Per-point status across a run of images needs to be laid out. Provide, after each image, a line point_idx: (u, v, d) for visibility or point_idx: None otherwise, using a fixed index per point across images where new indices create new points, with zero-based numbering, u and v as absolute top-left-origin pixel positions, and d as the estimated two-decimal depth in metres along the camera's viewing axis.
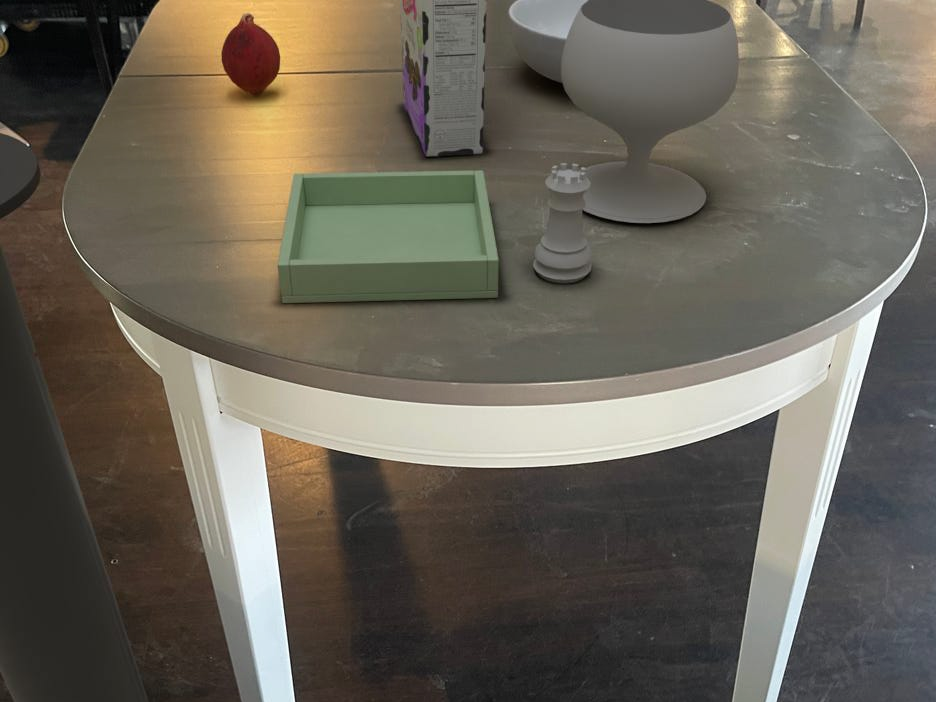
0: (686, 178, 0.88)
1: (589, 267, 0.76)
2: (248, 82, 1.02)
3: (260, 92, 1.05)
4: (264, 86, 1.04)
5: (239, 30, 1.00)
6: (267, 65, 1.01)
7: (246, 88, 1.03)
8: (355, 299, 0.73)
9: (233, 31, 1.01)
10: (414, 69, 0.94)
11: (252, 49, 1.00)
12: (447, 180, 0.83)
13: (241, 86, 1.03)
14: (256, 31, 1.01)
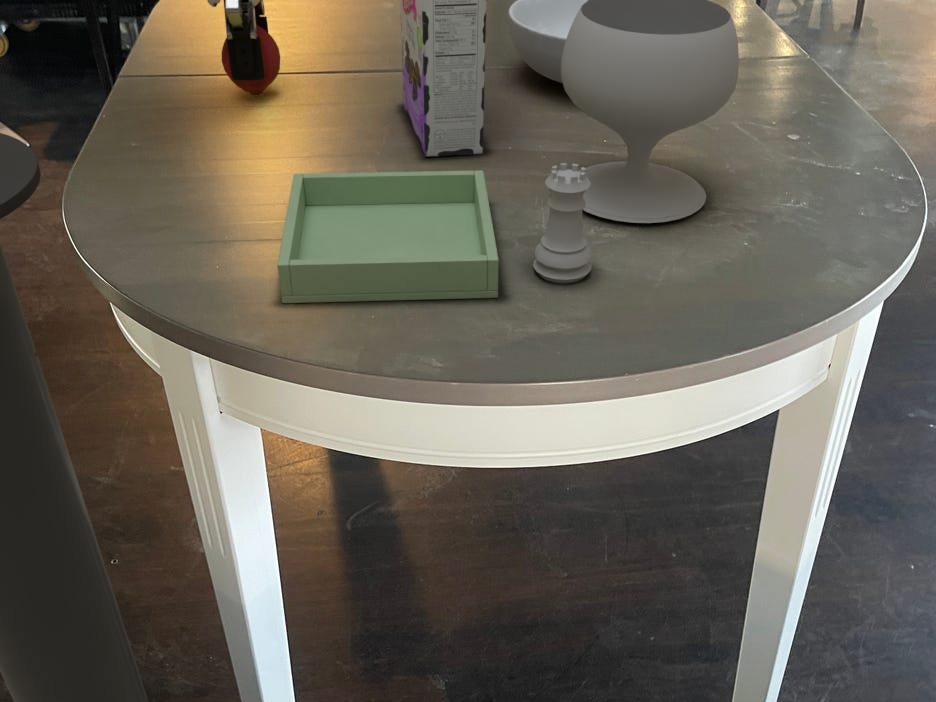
0: (686, 178, 0.88)
1: (589, 267, 0.76)
2: (248, 82, 1.02)
3: (260, 92, 1.05)
4: (264, 86, 1.04)
5: None
6: (267, 65, 1.01)
7: (246, 88, 1.03)
8: (355, 299, 0.73)
9: None
10: (414, 69, 0.94)
11: None
12: (447, 180, 0.83)
13: (241, 86, 1.03)
14: None
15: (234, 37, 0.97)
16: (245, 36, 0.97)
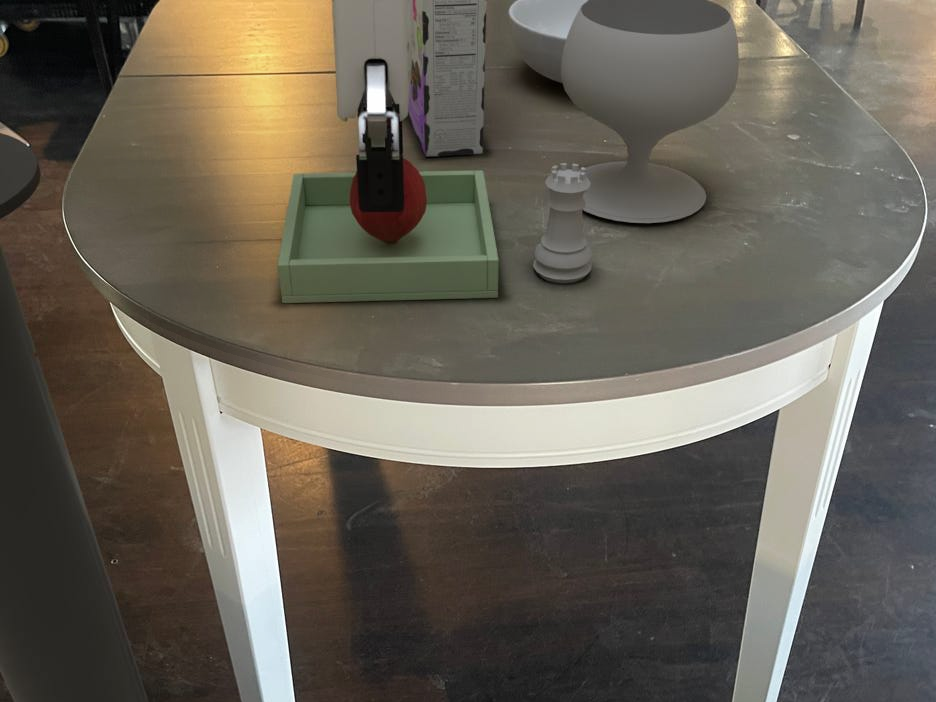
0: (686, 178, 0.88)
1: (589, 267, 0.76)
2: (387, 231, 0.76)
3: (397, 240, 0.78)
4: (405, 234, 0.77)
5: None
6: (413, 210, 0.75)
7: (381, 237, 0.77)
8: (355, 299, 0.73)
9: None
10: (414, 69, 0.94)
11: None
12: (447, 180, 0.83)
13: (375, 235, 0.77)
14: None
15: (369, 158, 0.68)
16: (385, 157, 0.68)
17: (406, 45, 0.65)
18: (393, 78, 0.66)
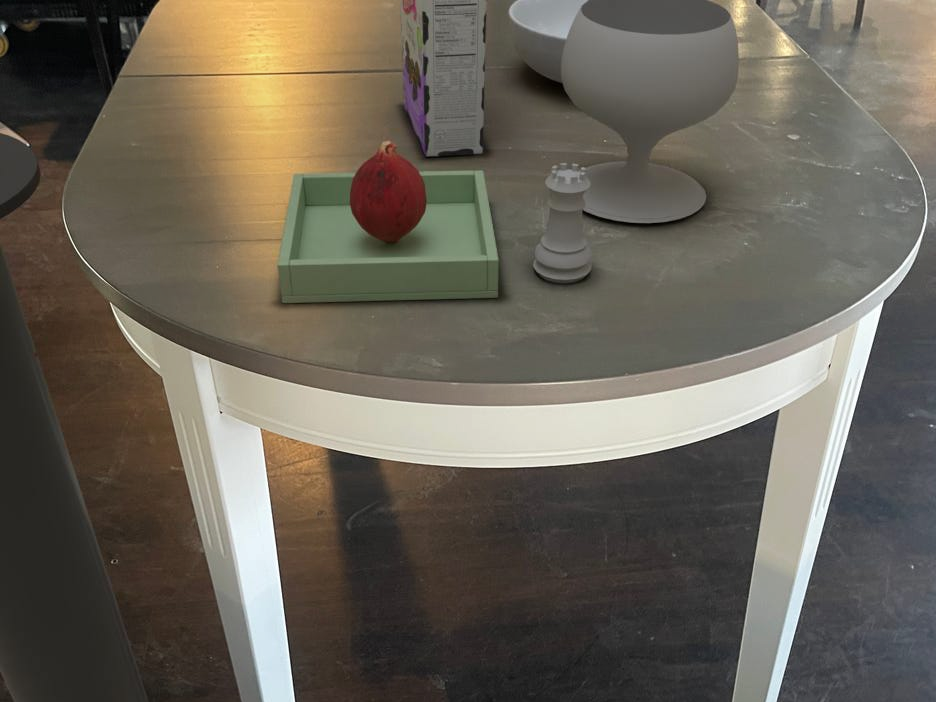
0: (686, 178, 0.88)
1: (589, 267, 0.76)
2: (387, 231, 0.76)
3: (397, 240, 0.78)
4: (405, 234, 0.77)
5: (377, 165, 0.74)
6: (413, 210, 0.75)
7: (381, 237, 0.77)
8: (355, 299, 0.73)
9: (368, 165, 0.74)
10: (414, 69, 0.94)
11: (395, 191, 0.74)
12: (447, 180, 0.83)
13: (375, 235, 0.77)
14: (400, 165, 0.74)
15: None
16: None
17: None
18: None
